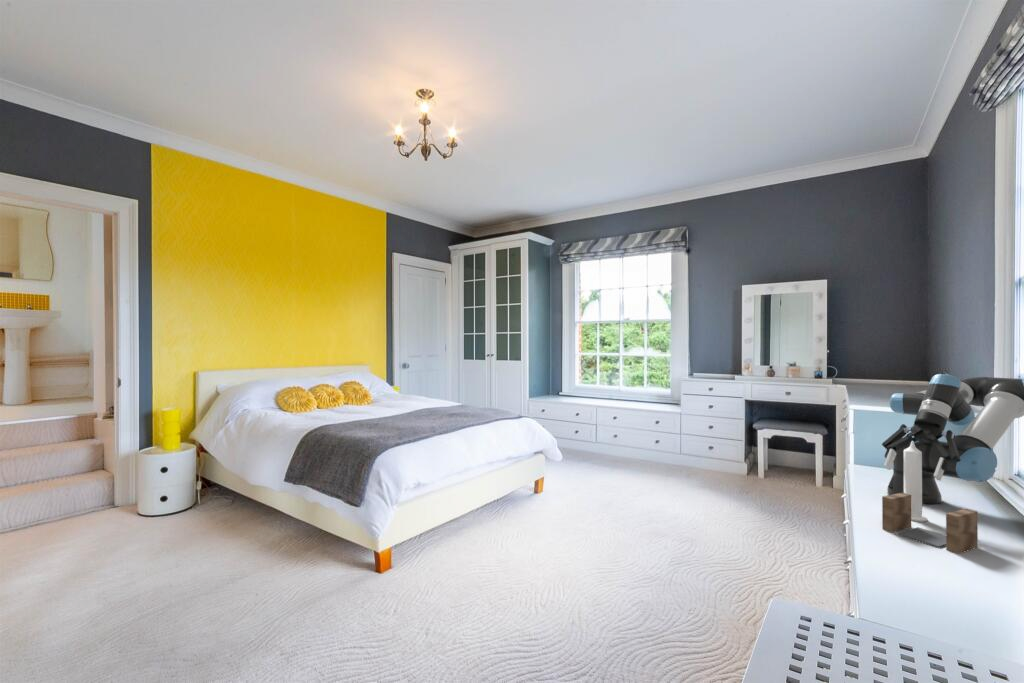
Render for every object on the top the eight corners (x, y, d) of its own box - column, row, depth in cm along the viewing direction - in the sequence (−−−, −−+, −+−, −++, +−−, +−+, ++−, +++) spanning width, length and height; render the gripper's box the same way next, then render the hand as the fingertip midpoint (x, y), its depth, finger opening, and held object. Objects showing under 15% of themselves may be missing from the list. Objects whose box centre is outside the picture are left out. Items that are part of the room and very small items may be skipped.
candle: (933, 522, 146) (932, 443, 147) (907, 521, 148) (907, 442, 148) (918, 514, 153) (917, 439, 154) (893, 513, 155) (893, 438, 155)
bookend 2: (966, 544, 130) (965, 508, 131) (977, 547, 128) (977, 511, 128) (946, 550, 127) (946, 513, 127) (958, 553, 124) (957, 516, 124)
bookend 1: (901, 524, 145) (901, 492, 145) (911, 527, 142) (911, 495, 143) (882, 529, 141) (882, 496, 141) (891, 532, 138) (891, 498, 139)
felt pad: (918, 528, 141) (918, 527, 141) (960, 541, 132) (960, 539, 132) (896, 534, 137) (896, 532, 137) (938, 547, 128) (938, 546, 128)
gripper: (884, 406, 163) (862, 458, 158) (976, 415, 140) (954, 476, 135) (894, 417, 166) (873, 469, 161) (987, 428, 143) (966, 489, 138)
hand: (910, 472), depth 148 cm, fingers open, 13 cm apart
